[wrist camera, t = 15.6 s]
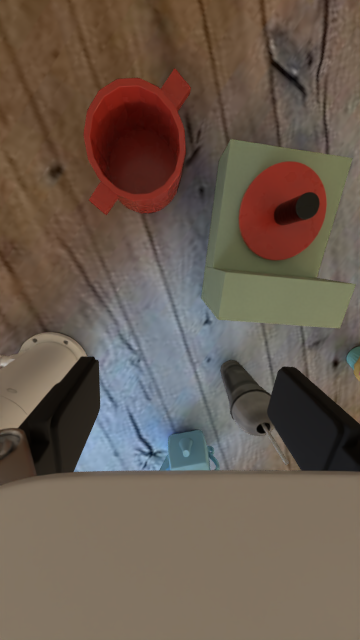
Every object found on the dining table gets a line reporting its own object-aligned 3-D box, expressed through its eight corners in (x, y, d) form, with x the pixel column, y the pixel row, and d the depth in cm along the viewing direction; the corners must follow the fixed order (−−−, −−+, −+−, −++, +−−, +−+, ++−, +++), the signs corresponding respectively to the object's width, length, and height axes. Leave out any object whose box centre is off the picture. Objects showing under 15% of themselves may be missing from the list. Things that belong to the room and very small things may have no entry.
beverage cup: (231, 347, 42) (285, 426, 23) (254, 367, 43) (321, 454, 25) (207, 371, 43) (239, 464, 24) (230, 389, 45) (277, 488, 26)
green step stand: (219, 159, 31) (253, 98, 19) (320, 174, 33) (413, 127, 20) (201, 298, 38) (217, 319, 26) (285, 305, 39) (340, 328, 27)
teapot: (216, 463, 52) (227, 510, 42) (162, 472, 52) (162, 522, 42) (208, 408, 46) (219, 448, 37) (148, 419, 46) (143, 462, 36)
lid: (219, 220, 28) (233, 211, 22) (284, 141, 26) (318, 109, 20) (274, 276, 31) (299, 281, 26) (336, 211, 29) (380, 200, 23)
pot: (81, 191, 31) (52, 169, 23) (147, 87, 28) (140, 19, 20) (140, 242, 34) (132, 238, 26) (206, 153, 31) (221, 117, 23)
